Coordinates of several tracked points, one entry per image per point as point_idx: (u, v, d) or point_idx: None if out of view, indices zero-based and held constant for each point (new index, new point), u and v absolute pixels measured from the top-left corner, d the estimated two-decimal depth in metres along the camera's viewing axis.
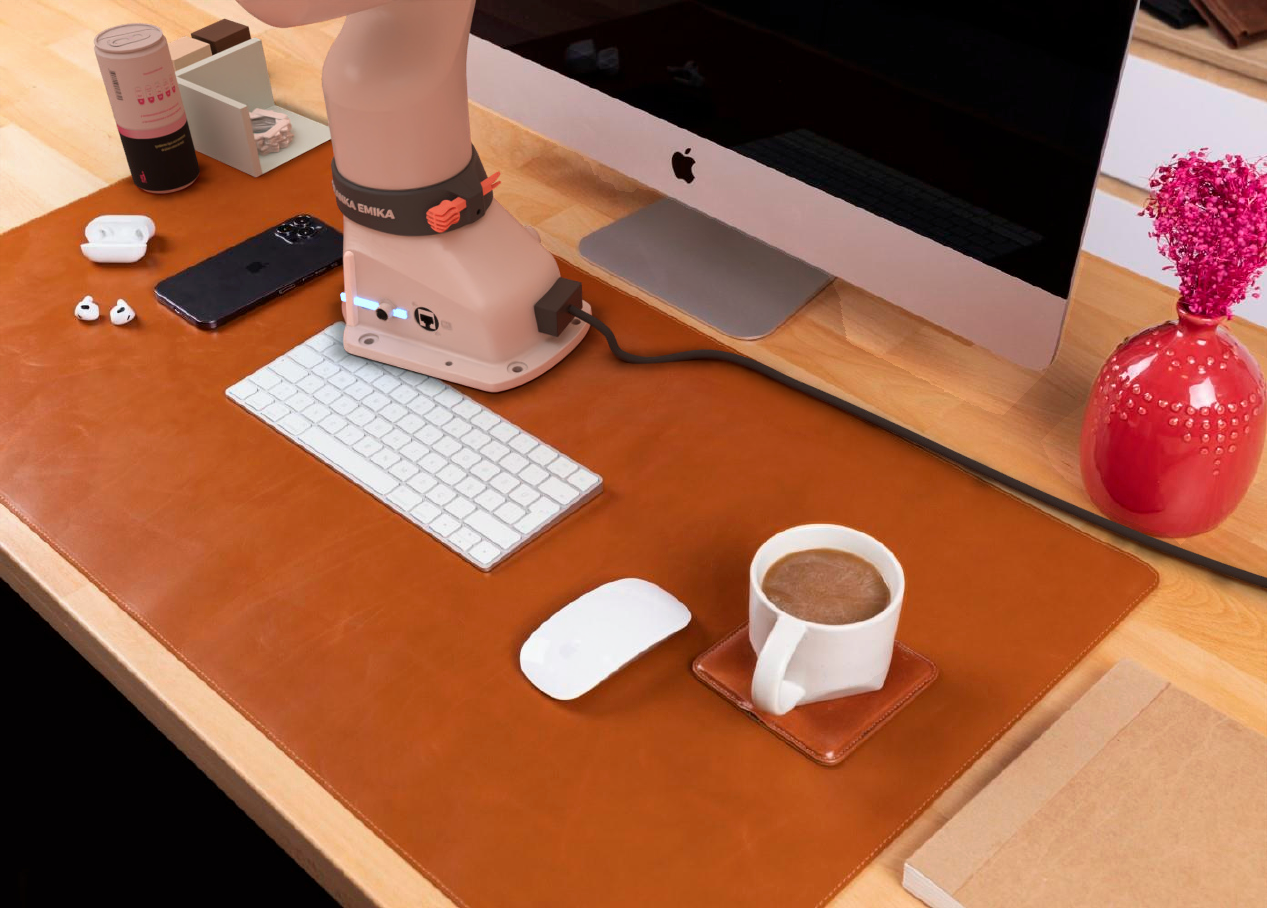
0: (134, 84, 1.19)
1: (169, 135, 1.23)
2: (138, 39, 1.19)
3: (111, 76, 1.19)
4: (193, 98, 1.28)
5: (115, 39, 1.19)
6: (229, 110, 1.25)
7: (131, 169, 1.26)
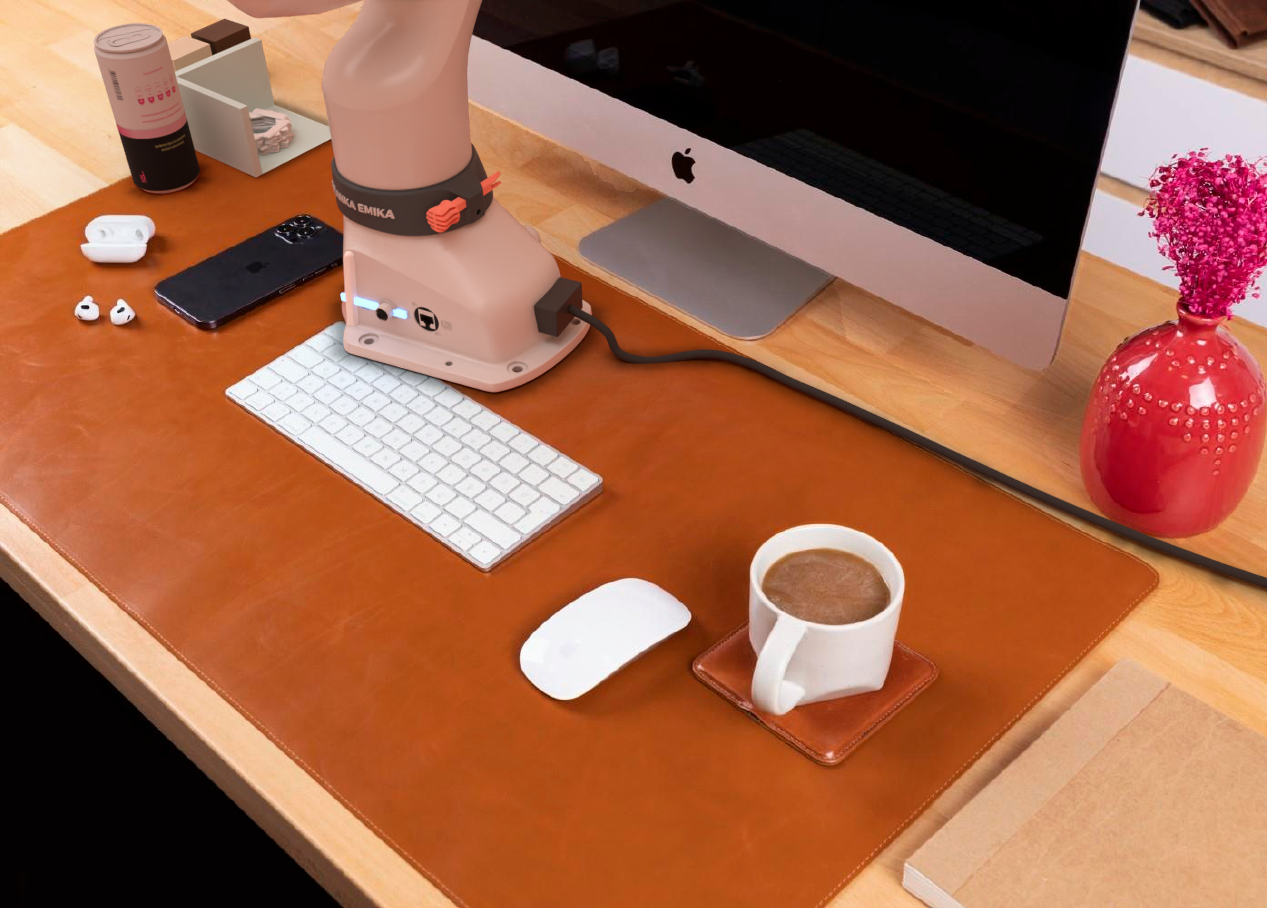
0: (134, 84, 1.19)
1: (169, 135, 1.23)
2: (138, 39, 1.19)
3: (111, 76, 1.19)
4: (193, 98, 1.28)
5: (115, 39, 1.19)
6: (229, 110, 1.25)
7: (131, 169, 1.26)
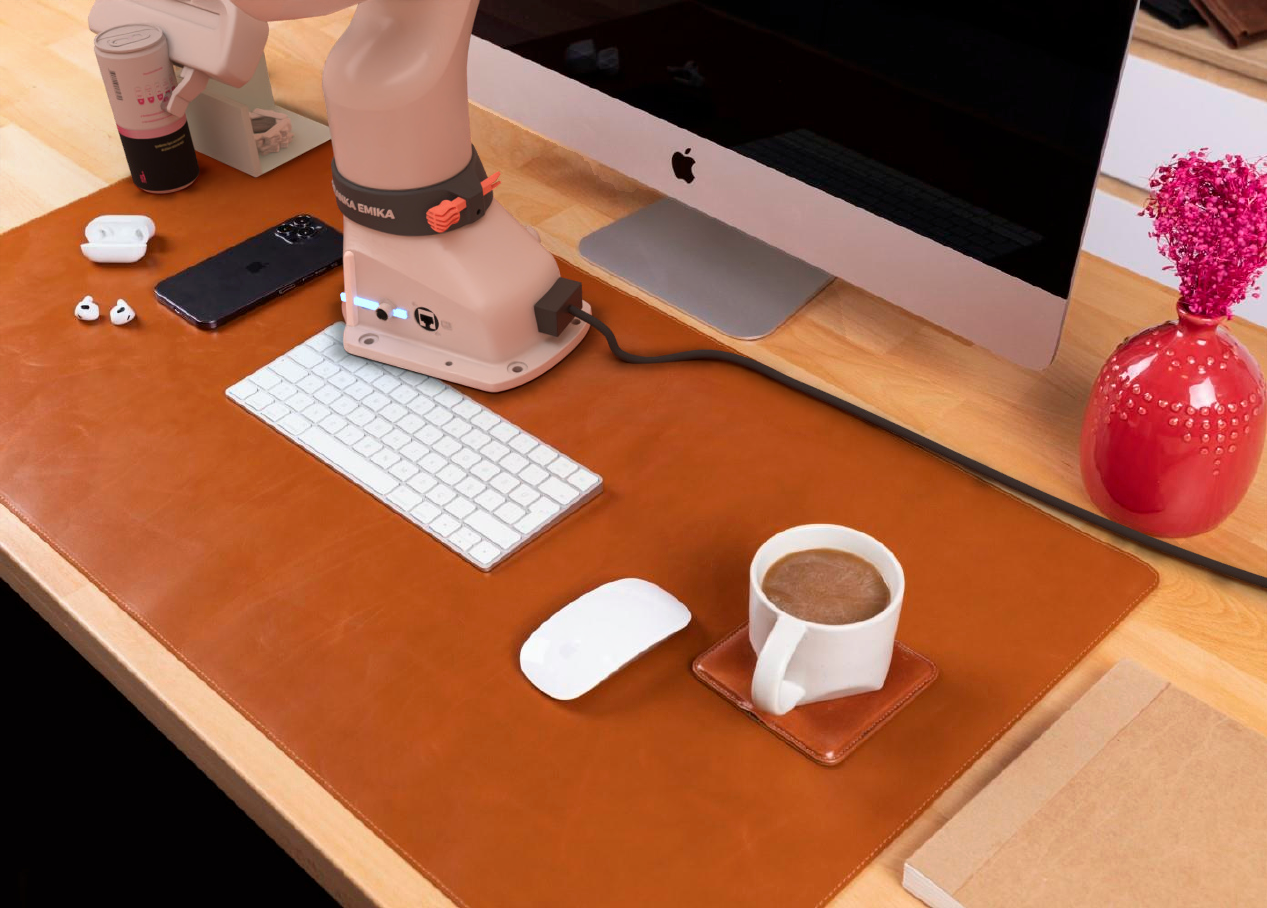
0: (134, 84, 1.19)
1: (169, 135, 1.23)
2: (137, 39, 1.19)
3: (111, 76, 1.19)
4: None
5: (115, 39, 1.19)
6: (229, 110, 1.25)
7: (131, 169, 1.26)
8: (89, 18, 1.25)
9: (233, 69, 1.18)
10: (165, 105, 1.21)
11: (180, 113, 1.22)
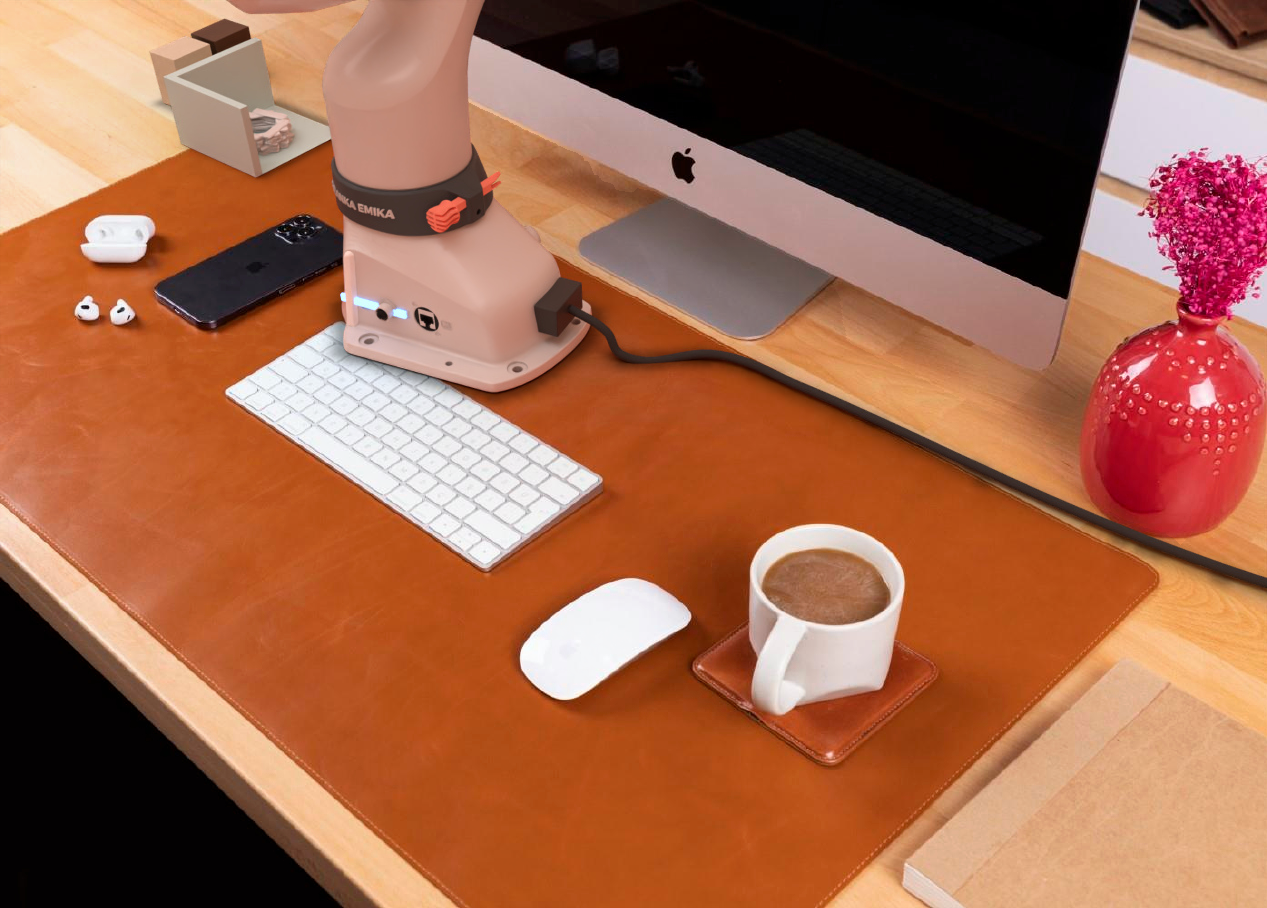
0: None
1: None
2: None
3: None
4: (193, 98, 1.28)
5: None
6: (229, 110, 1.25)
7: None
8: None
9: None
10: None
11: None
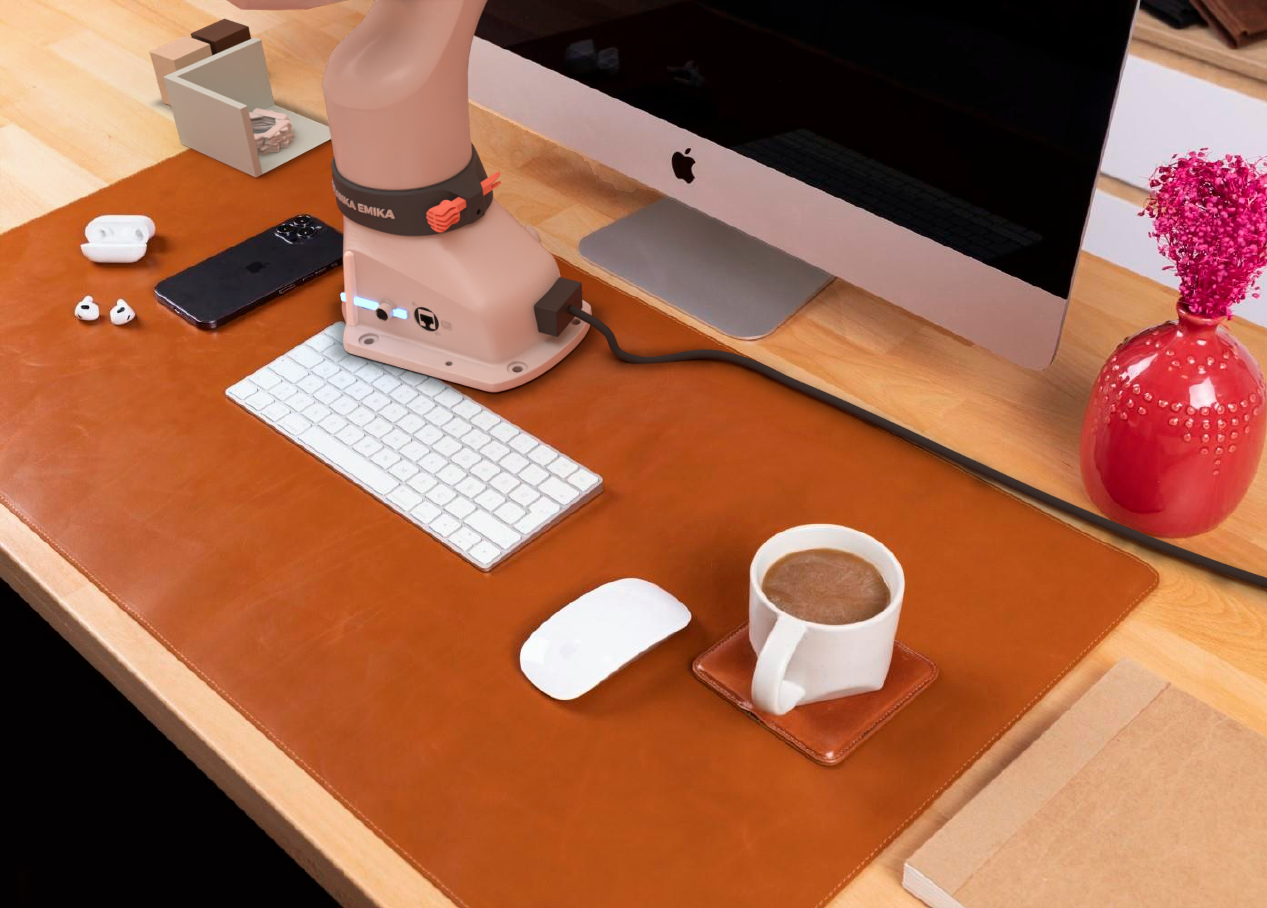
0: None
1: None
2: None
3: None
4: (193, 98, 1.28)
5: None
6: (229, 110, 1.25)
7: None
8: None
9: None
10: None
11: None
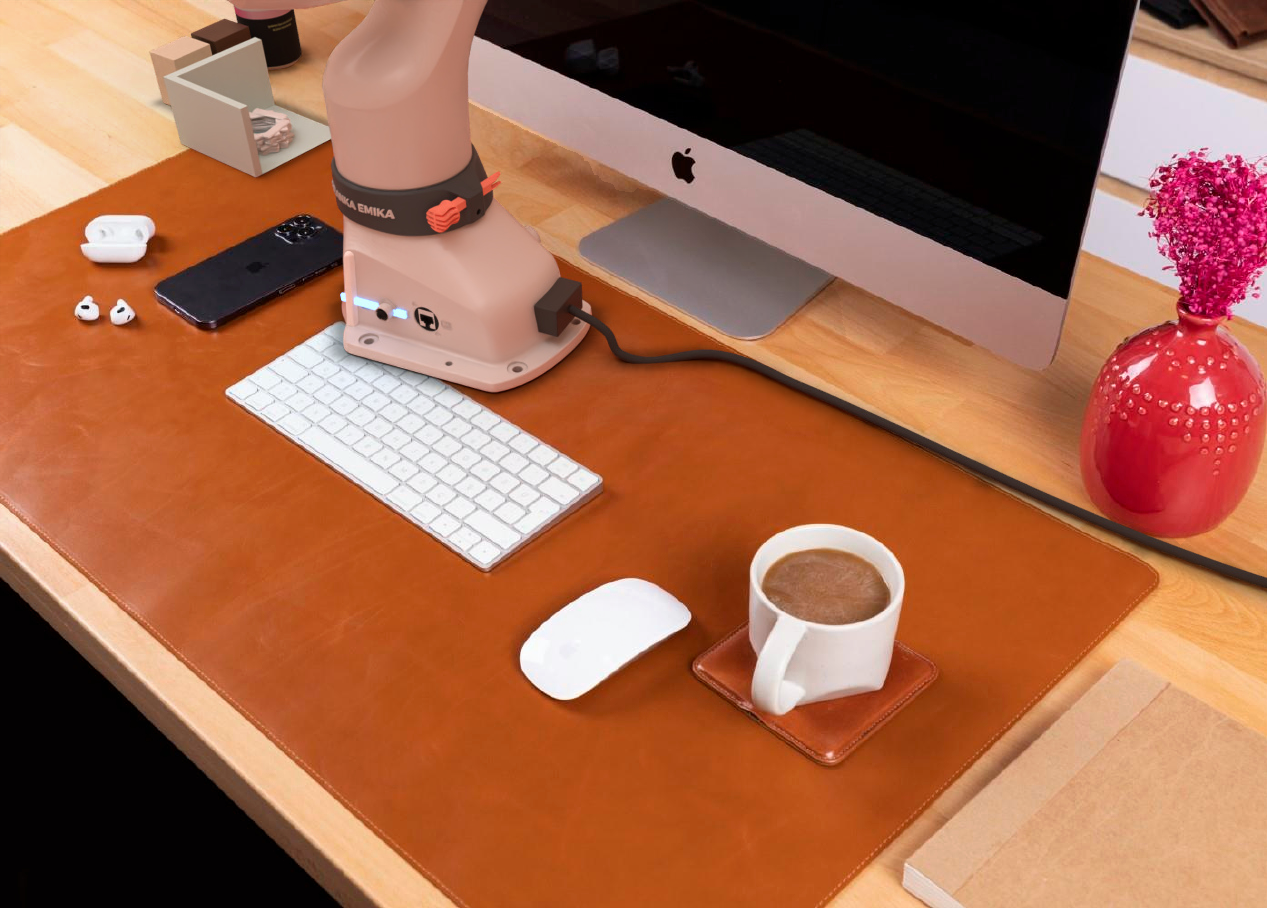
0: None
1: (279, 16, 1.44)
2: None
3: None
4: (193, 98, 1.28)
5: None
6: (229, 110, 1.25)
7: None
8: None
9: None
10: None
11: None
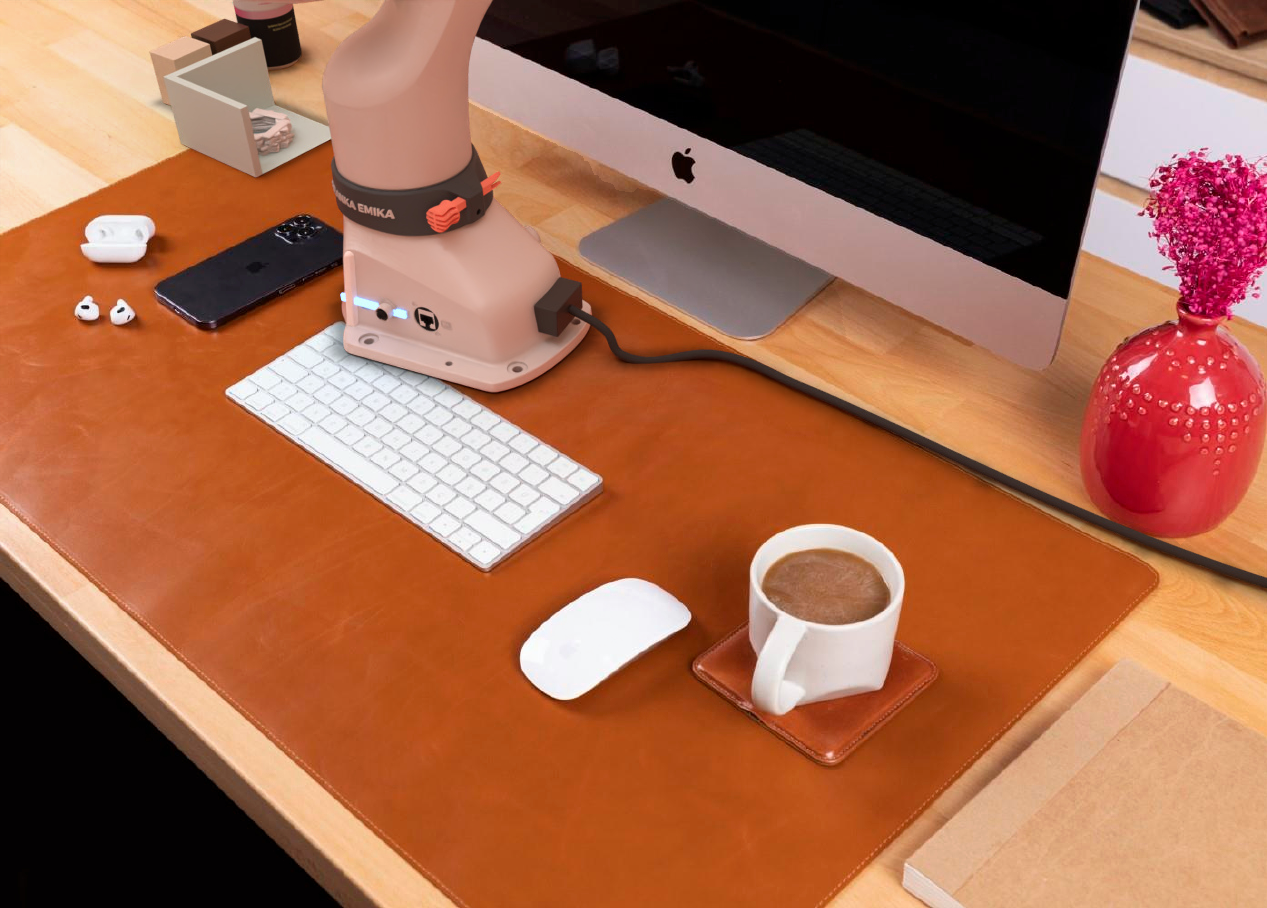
0: None
1: (279, 16, 1.44)
2: None
3: None
4: (193, 98, 1.28)
5: None
6: (229, 110, 1.25)
7: None
8: None
9: None
10: None
11: None
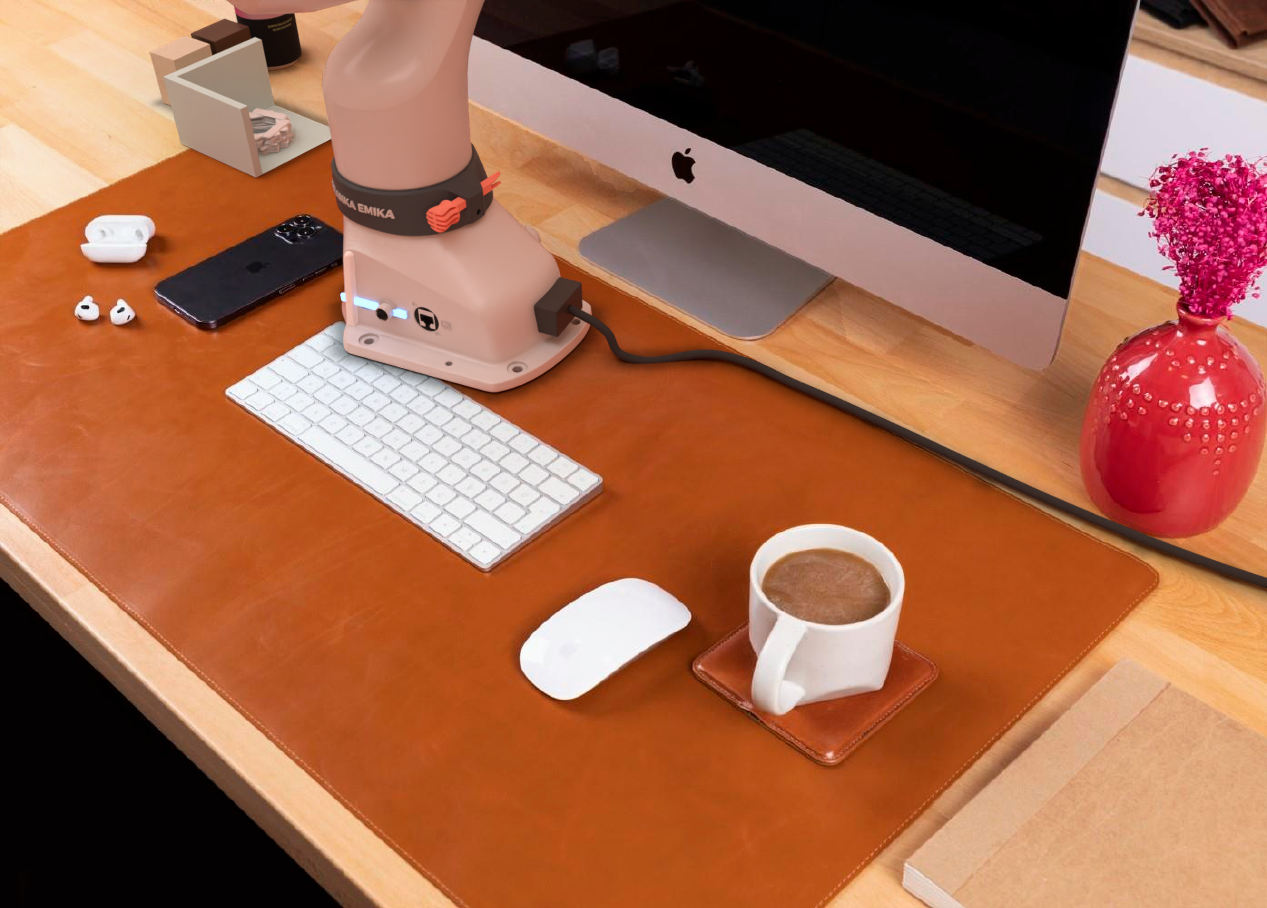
0: None
1: (279, 16, 1.44)
2: None
3: None
4: (193, 98, 1.28)
5: None
6: (229, 110, 1.25)
7: None
8: None
9: None
10: None
11: None
